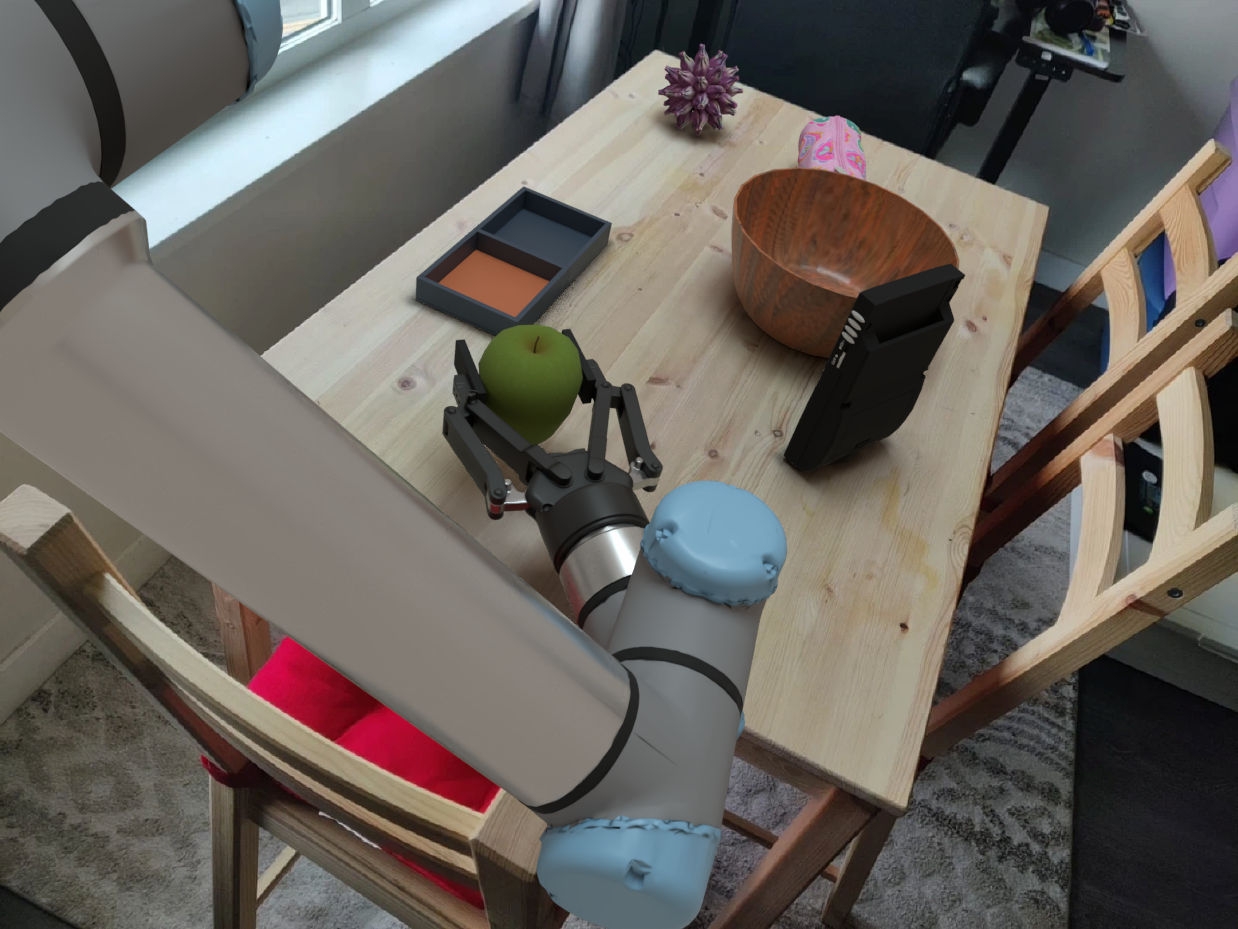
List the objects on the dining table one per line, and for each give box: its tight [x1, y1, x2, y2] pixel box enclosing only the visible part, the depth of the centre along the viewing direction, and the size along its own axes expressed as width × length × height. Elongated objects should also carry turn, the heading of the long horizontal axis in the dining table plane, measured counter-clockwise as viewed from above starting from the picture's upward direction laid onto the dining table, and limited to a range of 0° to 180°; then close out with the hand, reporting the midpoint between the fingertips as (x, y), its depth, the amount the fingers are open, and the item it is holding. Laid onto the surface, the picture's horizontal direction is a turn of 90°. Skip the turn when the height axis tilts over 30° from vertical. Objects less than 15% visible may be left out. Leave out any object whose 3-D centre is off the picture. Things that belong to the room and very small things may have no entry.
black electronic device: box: [783, 264, 966, 473], centre depth 83 cm, size 12×5×20 cm, turn 125°
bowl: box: [730, 166, 961, 359], centre depth 102 cm, size 25×25×11 cm
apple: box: [477, 324, 583, 445], centre depth 75 cm, size 9×8×12 cm
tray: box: [415, 186, 613, 337], centre depth 100 cm, size 23×12×3 cm, turn 156°
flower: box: [657, 43, 744, 137], centre depth 128 cm, size 12×12×12 cm
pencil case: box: [797, 115, 867, 181], centre depth 120 cm, size 21×9×9 cm, turn 173°
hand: (512, 346), depth 78 cm, fingers closed on apple, 9 cm apart
